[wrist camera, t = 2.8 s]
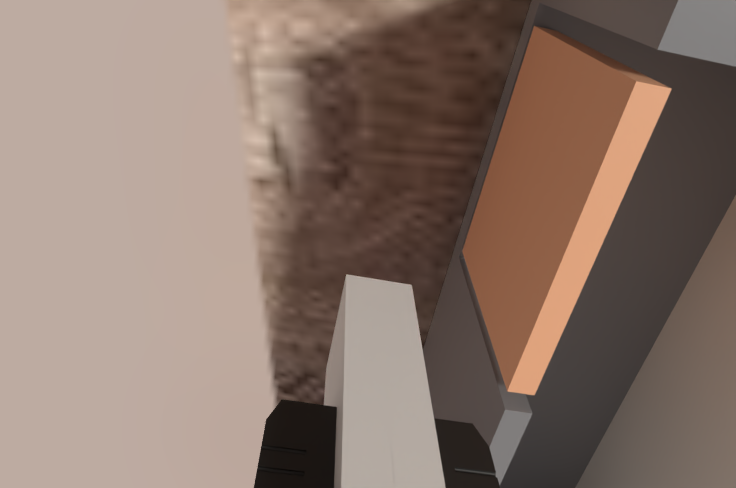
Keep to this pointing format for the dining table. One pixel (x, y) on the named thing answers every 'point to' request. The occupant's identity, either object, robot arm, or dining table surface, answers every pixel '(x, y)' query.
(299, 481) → the robot arm
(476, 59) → the dining table surface
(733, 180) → the storage box
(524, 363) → the box door
